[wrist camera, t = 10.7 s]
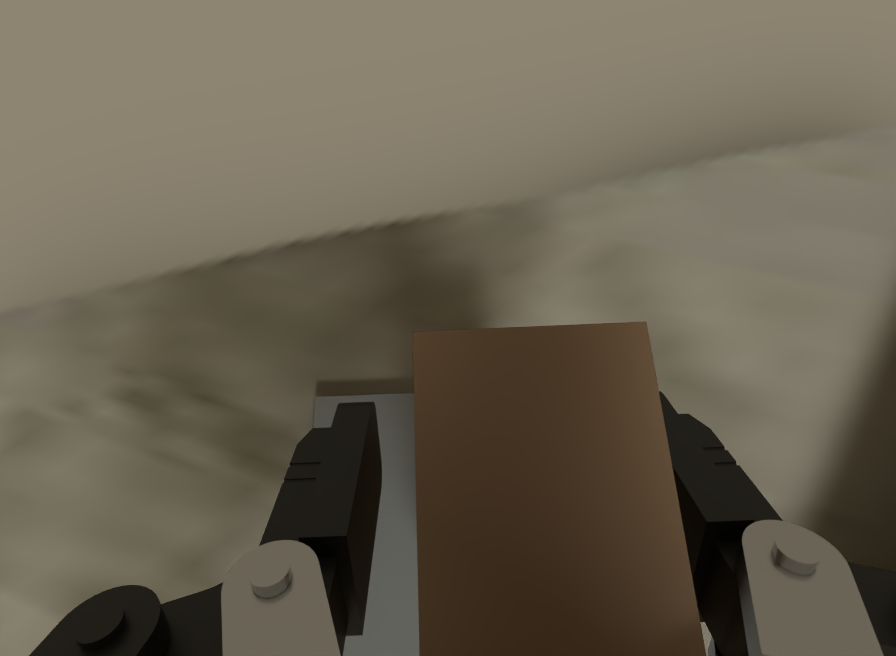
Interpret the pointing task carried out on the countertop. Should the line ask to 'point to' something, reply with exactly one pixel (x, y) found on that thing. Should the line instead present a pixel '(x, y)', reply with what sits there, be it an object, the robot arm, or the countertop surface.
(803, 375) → the countertop surface
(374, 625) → the grey mat
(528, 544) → the brown wooden block
